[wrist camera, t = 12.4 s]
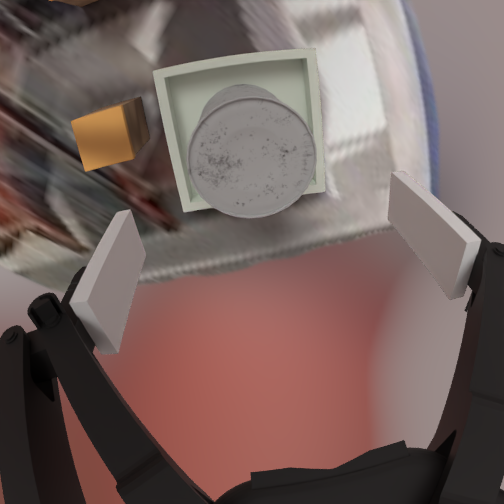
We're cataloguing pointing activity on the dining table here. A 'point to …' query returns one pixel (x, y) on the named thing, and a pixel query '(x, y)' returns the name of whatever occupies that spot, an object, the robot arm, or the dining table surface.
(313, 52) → the tray
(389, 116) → the dining table surface
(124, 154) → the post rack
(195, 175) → the grey cylinder
